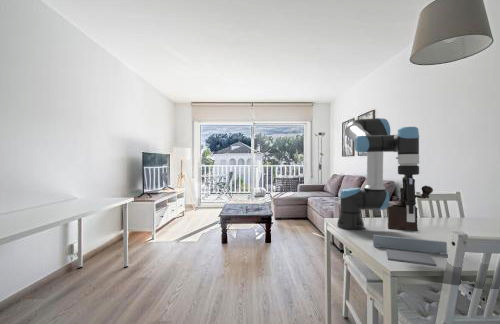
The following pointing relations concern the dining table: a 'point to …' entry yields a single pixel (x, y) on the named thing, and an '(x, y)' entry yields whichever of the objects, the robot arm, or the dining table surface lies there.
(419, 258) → the slate mat
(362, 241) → the dining table surface
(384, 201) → the robot arm
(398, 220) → the coffee grinder
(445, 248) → the low wall
